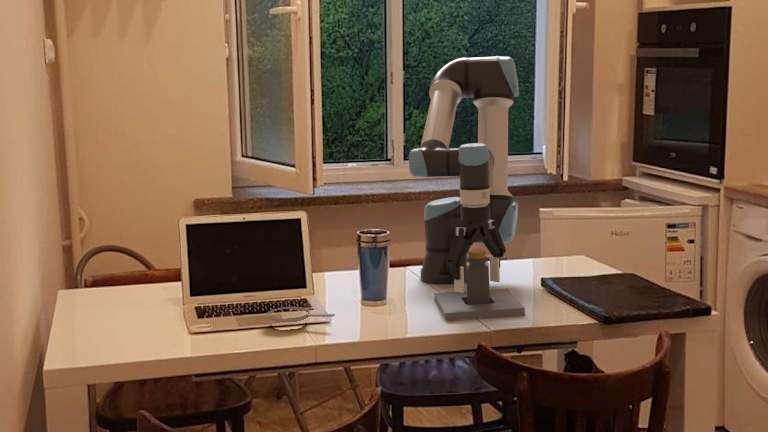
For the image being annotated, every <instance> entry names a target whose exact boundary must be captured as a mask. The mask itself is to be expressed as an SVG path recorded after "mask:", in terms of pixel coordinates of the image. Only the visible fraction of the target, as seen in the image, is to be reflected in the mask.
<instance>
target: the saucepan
mask: <svg viewBox="0 0 768 432" xmlns="http://www.w3.org/2000/svg"><path fill="white" fill-rule="evenodd" d="M281 309H299V310H303V311H306V312H308V314H306V315H304V316H301V317H296V318H287V319H279V318H272V317H269V316H268V314H270V313H272V312H274V311H277V310H281ZM310 311H311V310H310V309H309V308H307V307H302V306H301V307H300V306H284V307H279V308H274V309H271V310H269V311H268V312H267V313H266V319H267V318H268V319H270V320H273V321H276V322H289V323H290V322H297V321H301V320H304V319H306V318H308V317H313V318H314V317H315V318H316V317H318V318H321V317H323V318H325V317H326V318H327V317H328V318H329V317H330V318H333V317H335V316H336V315H335V313H310Z"/></svg>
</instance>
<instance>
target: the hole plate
mask: <svg viewBox="0 0 768 432" xmlns="http://www.w3.org/2000/svg"><path fill="white" fill-rule="evenodd" d="M489 290H490V304H474V305H467V290H466V291H465V290H464V292H463V293H461V292H456V291H449V292H447V291H446V292H434V294H433V295H434V296H433V297H434V298H433V300H434V302H435V304H436V306H437V309H438V310H439V309H440V310H439V311H441V312H440V313H442V314H441V315H442V317H443V316H444V317H443V319H444V318H445V319H444V321H445V320H453V321H459V320H458V319H468V320H479V319H480V318H483V319H495V318H496V317H497V318H509V317H525V316H526V308H525V306H524V305H523V304H522V303H521V302H520V301H519V300H518V298H517V297H516V296H515V294H514V293H512V292H511V290H510V289H509V288H496V289H495V288H494V289H493V288H492V289H491V288H490V289H489Z"/></svg>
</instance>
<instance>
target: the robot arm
mask: <svg viewBox="0 0 768 432" xmlns="http://www.w3.org/2000/svg"><path fill="white" fill-rule="evenodd" d="M519 88H520V87H519V79H518V74H517V68H516V63H515V61H514V58H512V57H510V56H499V55H495V56H482V57H481V56H479V57H478V56H477V57H460V58H456V59H454V60H452V61H449V62H448V63H447V64H445V65H444V66H442V68H441V69H440V70H439V71H437V73H436V74H435V76H434V77H433V79H432V81H431V82H430V86H429V93H428V94H429V95H428V96H429V98H430V103H429V106H428V113H427V115H426V116H427V117H426V120H425V123H424V129H423V134H422V139H421V143H420V147H417V148H413V149H411V150H410V152H409V155H408V168H409V172H410V174H411V176H412V177H417V178H418V177H420V178H439V177H440V178H442V177H443V178H445V177H449V178H450V177H452V178H453V177H455V178H456V177H459V196H453V197H452V196H451V197H444V198H440V199H435V200H432V201H430V202H428V203H427V204H426V205H425V206H424V213H423V214H424V216H423V217H424V218H423V221H424V240H425V242H424V243H425V254H424V258H423V262H422V266H421V267H422V268H420V272H419V273H420V280H421V281H422V282H425V283H429V284H437V285H439V284H440V285H441V284H442V285H445V284H446V285H447V284H448V285H449V284H454V287H453V288H454V289H453V290H454V292H461V293H463V292H464V291H465V282H466V263H467V258H468V257H469V256H468V251H469V250H470V248H471V246H473V245H474V244H484V246H485V247H486V249H487V250H488V252H489V253H490V254H491V256H489V282H493V283H500V282H501V281H500V280H501V279H500V276H501V275H500V274H501V273H500V268H501V258H504V255H505V254H506V252H507V250H506V247H505V244H507V243H510V242H512V241H513V240H514V237H515V234H516V229H517V223H518V215H519V203H518V202H517V201H514V196H513V195H512V193H511V192H510V191H509V190H508V188H509V187H508V183H509V180H508V179H509V178H508V172H509V168H508V167H509V157H508V156H509V108H511V106H512V105H514V98H516V97H518V96H519V95H520V91H519ZM465 98H467V99H469V98H470V99H471V98H473V99H472V100H473V101H472V103H473V105H475V106H476V108H477V109H478V111H477V112H478V113H477V114H478V116H477V117H478V118H477V119H478V121H477V122H478V124H477V125H478V126H477V127H478V129H477V142H476V143H464V144H461V145H460V146H459V147H453V148H452V147H450V144H451V137H452V131H453V128H454V121H455V117H456V111H457V106H458V104H459V103H460V102H461V100H462V99H465Z"/></svg>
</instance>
